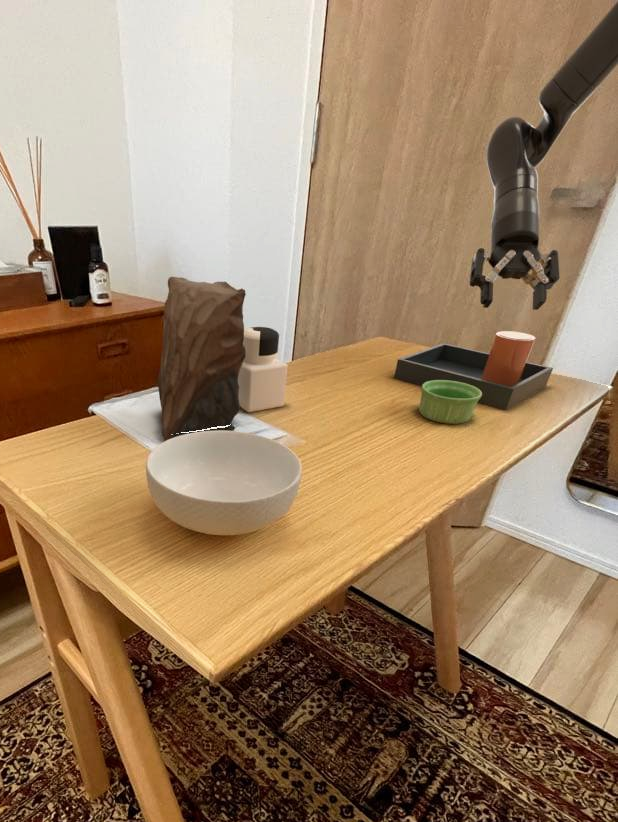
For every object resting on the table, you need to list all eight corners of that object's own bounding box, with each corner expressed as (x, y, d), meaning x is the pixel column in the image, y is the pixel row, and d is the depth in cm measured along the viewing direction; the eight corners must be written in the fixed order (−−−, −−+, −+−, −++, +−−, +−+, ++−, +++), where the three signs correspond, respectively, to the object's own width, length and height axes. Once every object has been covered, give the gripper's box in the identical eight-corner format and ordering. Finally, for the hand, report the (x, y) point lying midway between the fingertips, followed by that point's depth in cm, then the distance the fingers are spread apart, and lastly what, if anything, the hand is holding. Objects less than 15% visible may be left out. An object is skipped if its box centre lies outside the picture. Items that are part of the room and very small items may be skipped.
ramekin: (482, 415, 81) (491, 389, 79) (458, 431, 76) (468, 403, 74) (430, 400, 86) (437, 375, 84) (405, 414, 81) (412, 388, 79)
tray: (438, 360, 106) (443, 343, 104) (545, 387, 93) (553, 367, 91) (393, 377, 96) (397, 359, 94) (505, 410, 83) (513, 389, 81)
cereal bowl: (326, 528, 55) (336, 472, 51) (199, 581, 47) (198, 521, 43) (238, 466, 66) (240, 417, 62) (125, 501, 59) (119, 448, 55)
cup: (488, 378, 95) (505, 329, 89) (521, 387, 91) (541, 336, 85) (473, 385, 91) (490, 334, 86) (507, 395, 87) (527, 342, 82)
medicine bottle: (263, 393, 89) (268, 322, 82) (284, 406, 84) (291, 332, 76) (228, 399, 86) (230, 326, 79) (247, 413, 81) (252, 337, 74)
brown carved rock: (159, 409, 82) (151, 274, 70) (234, 407, 83) (239, 274, 71) (160, 442, 72) (152, 291, 60) (245, 439, 73) (253, 290, 61)
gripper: (483, 208, 87) (480, 291, 85) (568, 209, 86) (568, 294, 83) (465, 239, 95) (463, 317, 92) (544, 241, 93) (543, 320, 91)
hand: (513, 306), depth 88 cm, fingers open, 8 cm apart
